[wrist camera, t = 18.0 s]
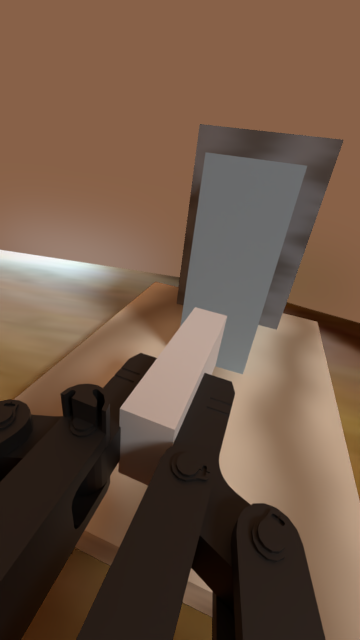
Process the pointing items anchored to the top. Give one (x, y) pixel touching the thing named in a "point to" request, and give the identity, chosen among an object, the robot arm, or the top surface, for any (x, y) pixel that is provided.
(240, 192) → the boxed book
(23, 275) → the top surface
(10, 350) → the top surface
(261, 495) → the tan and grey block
